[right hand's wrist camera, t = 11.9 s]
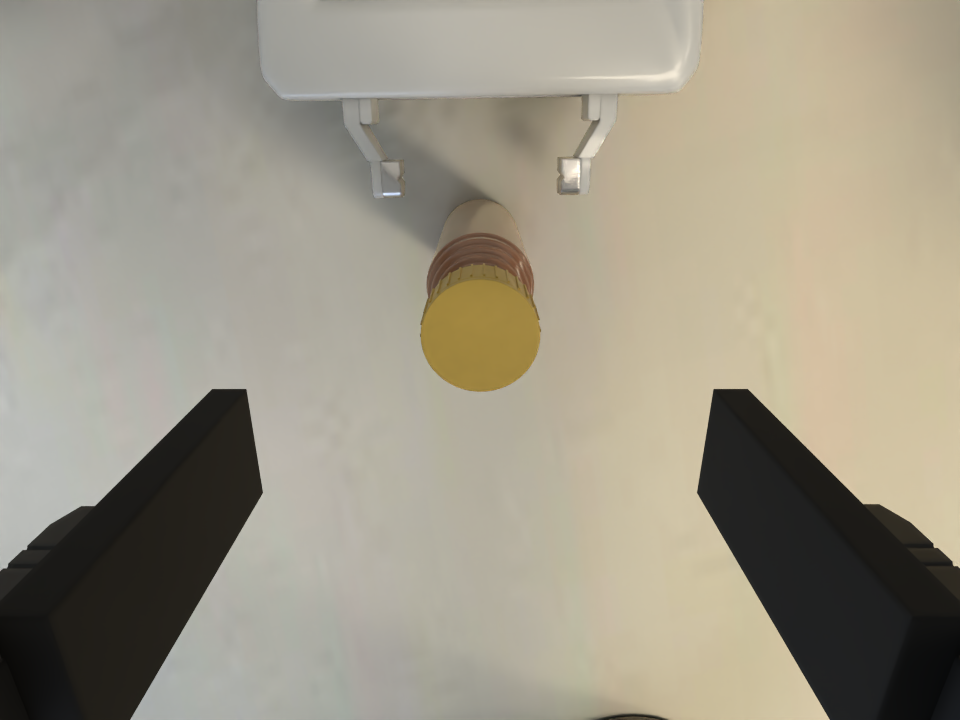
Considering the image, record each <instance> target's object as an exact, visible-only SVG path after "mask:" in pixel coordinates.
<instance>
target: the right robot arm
mask: <svg viewBox="0 0 960 720" xmlns="http://www.w3.org/2000/svg"><path fill="white" fill-rule="evenodd" d="M262 493H263V491H262V484H261V478H260V472H259V466H258V459H257V453H256V447H255V441H254V434H253V428H252V422H251V415H250V409H249V403H248V397H247V390H246V389H212V390H211V391H210V392H209V393H208V394H207V395H206V396H205V397H204V398H203V399H202V400H201V401H200V402H199V403H198V404H197V405H196V406H195V407H194V408H193V409H192V410H191V411H190V412H189V413H188V414H187V415H186V416H185V417H184V418H183V419H182V420H181V421H180V422H179V423H178V424H177V425H176V426H175V427H174V428H173V429H172V430H171V431H170V432H169V433H168V434H167V435H166V436H165V437H164V438H163V439H162V440H161V441H160V442H159V443H158V444H157V445H156V446H155V447H154V448H153V449H152V450H151V451H150V452H149V453H148V454H147V455H146V456H145V457H144V458H143V459H142V460H141V461H140V462H139V463H138V464H137V465H136V466H135V467H134V468H133V469H132V470H131V471H130V472H129V473H128V474H127V475H126V476H125V477H124V478H123V479H122V480H121V481H120V482H119V483H118V484H117V485H116V486H115V487H114V488H113V489H112V490H111V491H110V492H109V493H108V494H107V495H106V496H105V497H104V498H103V499H102V500H101V501H100V502H99V503H98V504H97V505H96V506H81V507H79V508H78V509H76V510H74V511H72V512H71V513H69V514H67V515H66V516H64V517H62V518H61V519H59V520H57V521H55V522H54V523H52V524H50V525H49V526H48V527H47V528H46V529H45V530H44V531H43V532H42V533H41V534H40V535H39V536H37V537H36V538H35V539H34V540H33V541H32V542H31V543H30V544H29V545H28V546H27V547H28V548H27V550H23V551H21V552H20V553H19V554H18V555H17V556H16V557H15V558H14V559H13V560H12V561H11V562H10V563H9V564H8V568H7V569H2V570H1V571H0V720H130V719H131V717H132V716H133V714H134V712H135V710H136V709H137V707H138V705H139V704H140V702H141V700H142V698H143V697H144V695H145V693H146V692H147V690H148V688H149V687H150V685H151V683H152V681H153V680H154V678H155V676H156V675H157V673H158V671H159V669H160V668H161V666H162V664H163V663H164V661H165V659H166V657H167V656H168V654H169V652H170V651H171V649H172V647H173V646H174V644H175V642H176V640H177V639H178V637H179V635H180V634H181V632H182V630H183V628H184V627H185V625H186V623H187V622H188V620H189V618H190V616H191V615H192V613H193V611H194V610H195V608H196V606H197V605H198V603H199V601H200V599H201V598H202V596H203V594H204V593H205V591H206V589H207V587H208V586H209V584H210V582H211V581H212V579H213V577H214V575H215V574H216V572H217V570H218V569H219V567H220V565H221V563H222V562H223V560H224V558H225V557H226V555H227V553H228V552H229V550H230V548H231V546H232V545H233V543H234V541H235V540H236V538H237V536H238V534H239V533H240V531H241V529H242V528H243V526H244V524H245V522H246V521H247V519H248V517H249V516H250V514H251V512H252V511H253V509H254V507H255V505H256V504H257V502H258V500H259V499H260V497H261V495H262ZM697 493H698V495H699V497H700V499H701V500H702V502H703V504H704V505H705V507H706V509H707V511H708V512H709V514H710V516H711V517H712V519H713V521H714V522H715V524H716V526H717V528H718V529H719V531H720V533H721V534H722V536H723V538H724V540H725V541H726V543H727V545H728V546H729V548H730V550H731V552H732V553H733V555H734V557H735V558H736V560H737V562H738V563H739V565H740V567H741V569H742V570H743V572H744V574H745V575H746V577H747V579H748V581H749V582H750V584H751V586H752V587H753V589H754V591H755V593H756V594H757V596H758V598H759V599H760V601H761V603H762V604H763V606H764V608H765V610H766V611H767V613H768V615H769V616H770V618H771V620H772V622H773V623H774V625H775V627H776V628H777V630H778V632H779V634H780V635H781V637H782V639H783V640H784V642H785V644H786V645H787V647H788V649H789V651H790V652H791V654H792V656H793V657H794V659H795V661H796V663H797V664H798V666H799V668H800V669H801V671H802V673H803V675H804V676H805V678H806V680H807V681H808V683H809V685H810V687H811V688H812V690H813V692H814V693H815V695H816V697H817V698H818V700H819V702H820V704H821V705H822V707H823V709H824V710H825V712H826V714H827V716H828V717H829V719H830V720H960V568H959V567H958V566H953V564H952V563H953V562H952V561H951V560H950V559H949V558H948V557H947V556H946V555H945V554H944V553H943V552H942V551H940V550H939V549H938V548H934V546H933V543H932V542H931V541H930V540H929V539H928V538H927V537H925V536H924V535H923V534H922V533H921V532H920V531H919V530H918V529H917V528H916V527H915V526H914V525H913V524H911V523H910V522H909V521H907V520H905V519H904V518H902V517H900V516H898V515H897V514H895V513H893V512H892V511H890V510H888V509H886V508H885V507H883V506H881V505H880V504H862V503H861V502H860V501H859V500H858V499H857V498H856V497H855V496H854V495H853V494H852V493H851V492H850V491H849V490H848V489H847V488H846V487H845V486H844V485H843V484H842V483H841V482H840V481H839V480H838V479H837V478H836V477H835V476H834V475H833V474H832V473H831V472H830V471H829V470H828V469H827V468H826V467H825V466H824V465H823V464H822V463H821V462H820V461H819V460H818V459H817V458H816V457H815V456H814V455H813V454H812V453H811V452H810V451H809V450H808V449H807V448H806V447H805V446H804V445H803V444H802V443H801V442H800V441H799V440H798V439H797V438H796V437H795V436H794V435H793V434H792V433H791V432H790V431H789V430H788V429H787V428H786V427H785V426H784V425H783V424H782V423H781V422H780V421H779V420H778V419H777V418H776V417H775V416H774V415H773V414H772V413H771V412H770V411H769V410H768V409H767V408H766V407H765V406H764V405H763V404H762V403H761V402H760V401H759V400H758V399H757V398H756V397H755V396H754V395H753V394H752V393H751V392H750V391H749V390H748V389H714V390H713V397H712V403H711V409H710V416H709V422H708V428H707V434H706V441H705V447H704V453H703V459H702V466H701V472H700V478H699V484H698V491H697ZM606 720H659V719H655V718H649V717H618V718H611V719H606Z"/></svg>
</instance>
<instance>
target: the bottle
mask: <svg viewBox="0 0 960 720" xmlns="http://www.w3.org/2000/svg"><path fill="white" fill-rule="evenodd" d="M471 264H473V265H483V264H485V265H489V266H494V267H495V265H496V266H497V267H498V268H500V269H503V270H505V271H506V270H508V272H509V273H511V274H512V275H513V276H515V277H516V276H517V277H518V279H519V281H520V282H521V283H522V284H523V285H524V284H525V285H526V288H527V291H528V292H529V294H531V295H532V297H533V292H534V278H533V273H532V269H531V266H530V263H529V260H528V257H527V255H526V252H525V249H524V246H523V243H522V240H521V237H520V235H519V232H518V229H517V226H516V223H515V221H514V219H513V217H512V216H511V214H510V213H509V212H508V211H507V210H506V209H505V208H504V207H503V206H501V205H500V204H498V203H496V202H493V201H490V200H486V199H475V200H470V201H467V202H465V203H463V204H461V205H459V206H458V207H457V208H455V209H454V210H453V211H452V212H451V214H450V215H449V216H448V218H447V220H446V222H445V225H444V228H443V231H442V233H441V236H440V239H439V242H438V245H437V248H436V251H435V254H434V257H433V260H432V262H431V265H430V268H429V271H428V276H427V294H428V298H430V295H431V292H432V289H433V288H434V289H435V288H436V286H437V285H438V284H439V280H440V279H441V280H442V279H444V278H445V277H446V276H447V275H448V273H449V272H451V273H452V272H454V271H456V270H458V269H459V267H461V268H463V267H467V266H471Z"/></svg>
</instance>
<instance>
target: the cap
mask: <svg viewBox="0 0 960 720" xmlns="http://www.w3.org/2000/svg"><path fill="white" fill-rule="evenodd" d="M423 313H424V314H423V317H422V320H421V325H422V327H421V334H420V337H421V344H422V349H423V352H424V355H425V357H426V359H427V361H428V363H429V364H430V366H431V367H432V369H433V370H434V371H435V372H436V373H437V374H438V375H439V376H440V377H441V378H442V379H443V380H445V381H447V382H448V383H450V384H452V385H454V386H456V387H458V388H461V389H464V390H469V391H478V392H481V391H492V390H496V389H500V388H503V387H505V386H507V385H509V384H511V383H513V382H514V381H516V380H517V379H519V378H520V377H521V376H522V375H523V374H524V373H525V372H526V371H527V370H528V369H529V367H530V366H531V364H532V363H533V361H534V359H535V357H536V355H537V352H538V348H539V343H540V332H541V329H540V326H539V322H538V320H539V316H538V313H537V309H536V306H535V304H534V301H533V297H532V295H531V294H529V292H528V291H527V288H526V285H525V284H524V285H523V284H522V283H521V282H520V281H519V279H518V277H517V276H516V277H515V276H513V275H512V274H511V273H509V272H508V270H506V271H505V270H503V269H500V268H498V267H497V266H496V265H495V267H494V266H489V265H485V264H483V265H473V264H471V266H467V267H463V268H461V267H459V269H458V270H456V271H454V272H452V273H451V272H449V273H448V275H447V276H446V277H445V278H444V279H442V280H441V279H440V280H439V284H438V285H437V286H436V288H435V289H434V288H433V289H432V292H431V295H430V298H428V299H427V302H426V305H425V309H424V312H423Z"/></svg>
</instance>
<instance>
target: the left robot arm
mask: <svg viewBox="0 0 960 720" xmlns="http://www.w3.org/2000/svg"><path fill="white" fill-rule="evenodd" d="M703 10H704V0H257V27H258V45H259V57H260V66H261V72H262V75H263V78H264V80H265V81H266V82H267V84H268V85H269V86H270V87H271V88H272V89H273V91H274V92H275V93H276V94H277V95H278V96H279V97H280V98H282V99H285V100H290V101H339V100H342V109H343V119H344V126H345V127H346V129H347V130H348V132H349V134H350V135H351V137H352V138H353V140H354V141H355V143H356V144H357V146H358V147H359V149H360V151H361V152H362V154H363V155H364V157H365V158H366V160H367V161H368V162H370V166H371V179H372V191H373V195H374V198H396V197H403V196H404V195H405V181H404V180H403V178H402V176H403V174H404V160H387V159H388V158H387V156H386V154H385V153H384V151H383V149H382V148H381V146H380V144H379V143H378V141H377V139H376V138H375V136H374V134H373V133H372V131H371V129H370V128H369V126H368V124H378V123H379V111H378V100H398V99H457V98H516V97H575V96H582V107H581V119H582V120H583V121H592V123H591V125H590V127H589V128H588V130H587V132H586V134H585V135H584V137H583V139H582V141H581V142H580V144H579V146H578V148H577V149H576V151H575V153H574V155H573V156H574V157H558V160H557V171H558V172H559V174H560V175H559V177H558V178H557V193H559V195H588V193H589V188H590V170H591V158H594V157H595V155H596V153H597V152H598V150H599V148H600V147H601V145H602V143H603V142H604V140H605V138H606V137H607V135H608V134H609V132H610V130H611V129H612V127H613V125H614V124H615V122H616V117H617V102H618V96H633V95H667V94H673V93H677V92H679V91H680V90H681V89H682V88H683V87H684V86H685V85H686V84H687V83H688V81H689V80H690V79H691V77H692V76H693V75H694V73H695V72H696V70H697V68H698V65H699V60H700V52H701V43H702V30H703Z"/></svg>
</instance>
